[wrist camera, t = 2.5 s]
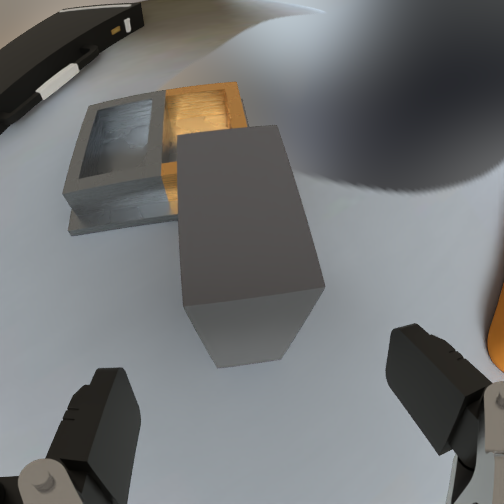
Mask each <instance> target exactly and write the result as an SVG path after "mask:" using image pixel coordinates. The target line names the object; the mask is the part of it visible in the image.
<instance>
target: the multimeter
mask: <svg viewBox="0 0 504 504" xmlns="http://www.w3.org/2000/svg"><path fill="white" fill-rule="evenodd" d="M487 346H488V352H489V355H490V358H491V360H492V362H493V363H494V364H495V365H496V366H497V367H498V368H499V369H500V370H501V371H503V372H504V283H503V287H502V291H501V294H500V298H499V301H498V304H497V308H496V311H495V314H494V317H493V320H492V323H491V326H490V329H489V333H488V339H487Z"/></svg>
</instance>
